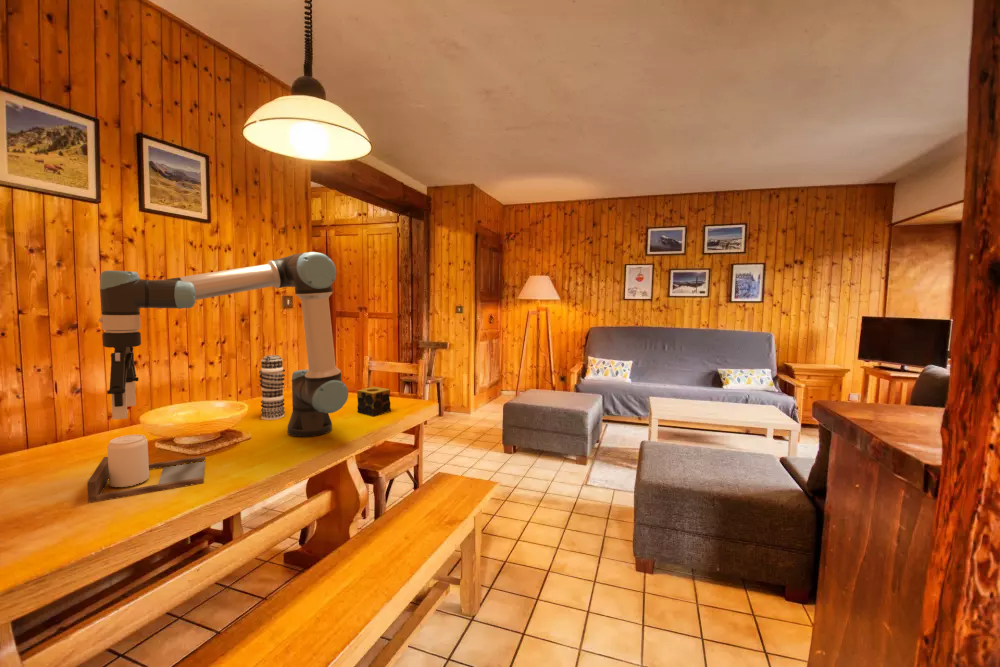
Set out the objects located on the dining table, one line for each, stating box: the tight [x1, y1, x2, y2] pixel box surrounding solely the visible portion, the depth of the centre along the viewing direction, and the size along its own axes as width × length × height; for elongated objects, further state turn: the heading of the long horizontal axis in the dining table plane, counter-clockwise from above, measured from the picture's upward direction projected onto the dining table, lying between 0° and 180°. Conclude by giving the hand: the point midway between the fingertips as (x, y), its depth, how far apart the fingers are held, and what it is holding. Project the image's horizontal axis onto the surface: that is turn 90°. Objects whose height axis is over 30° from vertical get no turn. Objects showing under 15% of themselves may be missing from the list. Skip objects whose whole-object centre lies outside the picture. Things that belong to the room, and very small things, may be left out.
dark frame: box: [86, 455, 206, 503], centre depth 119 cm, size 23×18×5 cm
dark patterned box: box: [356, 386, 392, 417], centre depth 189 cm, size 10×10×10 cm
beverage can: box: [106, 434, 150, 488], centre depth 116 cm, size 8×8×12 cm
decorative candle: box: [258, 354, 286, 421], centre depth 177 cm, size 9×9×25 cm
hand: (124, 412), depth 115 cm, fingers open, 13 cm apart
